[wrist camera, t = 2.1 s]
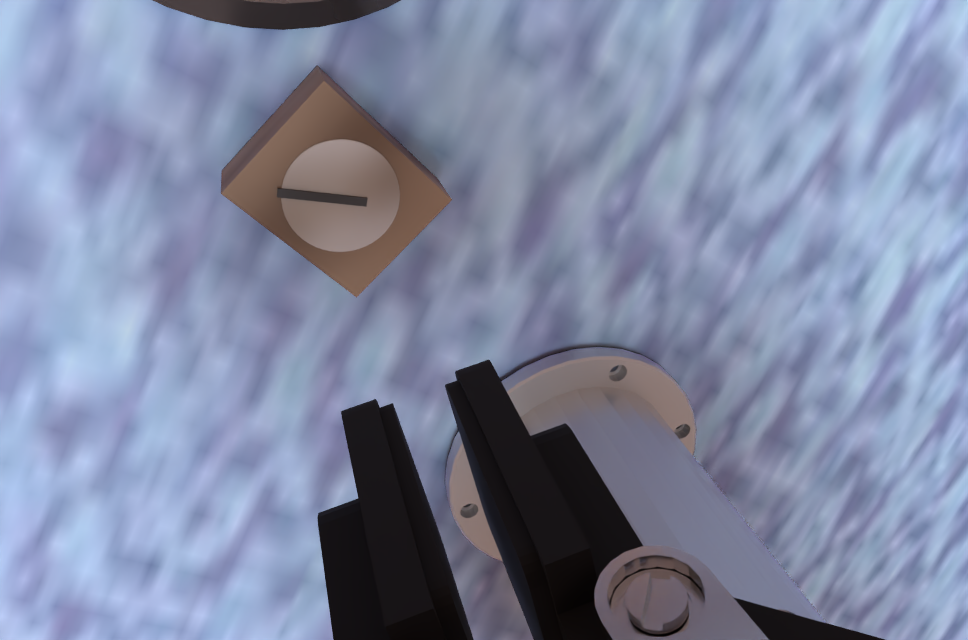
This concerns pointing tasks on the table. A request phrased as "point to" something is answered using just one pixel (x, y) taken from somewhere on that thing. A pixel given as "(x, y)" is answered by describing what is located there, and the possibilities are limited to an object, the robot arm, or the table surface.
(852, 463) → the table surface
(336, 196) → the dial pad
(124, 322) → the table surface
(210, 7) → the plinth
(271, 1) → the handwheel
